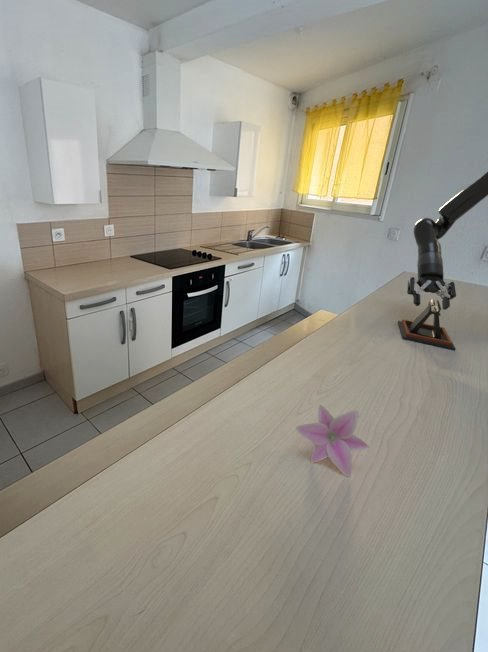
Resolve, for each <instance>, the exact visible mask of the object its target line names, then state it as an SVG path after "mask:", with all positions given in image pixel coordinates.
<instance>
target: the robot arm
mask: <svg viewBox="0 0 488 652" xmlns="http://www.w3.org/2000/svg"><path fill="white" fill-rule="evenodd" d="M487 197H488V171H486V172H485V173H484V174H483V175H482V176H481V177H479V178H478V179H477V180H475V181H473V182H472V183H471V184H470V185H468V186H467V187H466V188H464V189H463V190H461V191H460V192H459V193H457V194H456V195H455V196H453V197H452V198H451V199H449V201H447V202H446V203H445V204H444V205H443V206H441V207H440V208H439V210H438V211H437V213H438V215H439V218H438V219H437V220H436V221H435V220H434V219H432V218H430V217H424V218H423V217H422V218H421V219H419V220H418V221H416V223H415V224H414V226H413V237H414V240H415V244H416V246H417V264H416V267H417V278H415V277H414V276H411V277H410V278H409V279H408V280H407V288H406V289H407V292H406V293H407V295H410V296H412V297H413V304H414V306H416V307H419V306H421V293H422V292H424V293H431V294H436V295H437V296H438V297H440V298H441V299H442V300H441V305H442V307H441V308H442V310H448V308H450V306H451V302H450V301H452V300H453V299H454V298H456V297H457V293H456V286H455V282H454V281H450V282H445V280H444V277H445V276H444V261H443V257H442V245H441V243H440V241H439V240H440V239H443V237H444V236H445V235H446V234H447V233H448V232H449V230H450V229H451V228H452V227H453V225H454V224H455V223H456V222H457V221H458V220H459V219H460V218H461V217H463V216H464V215H466V214H467V213H468V212H469V211H470V210H472V209H473V208H474V207H476V205H478V204H479V203H480V202H482V201H483V200H484V199H485V198H487ZM416 284H417V286H418V287H419V288H418V289H416V290H415V285H416Z"/></svg>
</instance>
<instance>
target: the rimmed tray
mask: <svg viewBox="0 0 488 652" xmlns="http://www.w3.org/2000/svg"><path fill="white" fill-rule="evenodd" d="M413 322H414V321H413V320H408V319H402V320H398V321H397V324H398V328H399V332H400V335H401V339H402V340H407V341H410V342H415V343H419V344H423V345H429V346H433V347H438V348H442V349H446V350H451V351H456V346H455V345H454V343H453V341H452V339H451V338H450V335H449V334H448V332H447V330H446V328H445V327H444V326H443V327H442V326H440V334H441V340H440V339H435V338H430V337H426V336H421V335H417V334H413V333H410V325H411V324H412V323H413ZM421 328H422V329H426V330H430V331H433V325H432V324H428V323H424V324H423V325H422V326H421Z"/></svg>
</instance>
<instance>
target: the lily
mask: <svg viewBox="0 0 488 652" xmlns="http://www.w3.org/2000/svg"><path fill="white" fill-rule="evenodd" d="M358 419H359V410H356V409H354V410H350V411H348V412H344V413H343V414H341V415H338V416H336V417H334V416H333V415H332V414H331V413H330V411H329V410H328V409H327V408H326V407H325V406H324V405H322V404H319V405H318V409H317V421H318V422H313V423H312V422H311V423H305V424H301V425H297V426H296V427H295V431H297V433H299V434H300V436H302V437H303V438H304V439H306V440H307V441H309V442H310V443H312V444H314V446H313V449H312V452H311V455H310V462H311V461H312V462H314V463H319V462H320V461H323V460H325V459H328V458H329V459H330V461H331V462H332V463H333V464H334V465H335V467H336V468H337V469H338V470H339V471H340V472H341V473H342V474H343V475H344V476H345V477H347V478H351V476H352V469H353V467H352V466H353V461H352V460H353V458H352V452H355V451H357V452H358V451H364V450H368V449H370V446H369V444H368V443H366V442H365V441H364V440H362V439H361V438H359V437H358V436H357V435H356V434H354V433H355V431H356V428H357V424H358ZM312 462H311V463H312Z"/></svg>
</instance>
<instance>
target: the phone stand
mask: <svg viewBox="0 0 488 652" xmlns="http://www.w3.org/2000/svg"><path fill="white" fill-rule="evenodd" d="M441 311H442V307H441V304H440V301H439V300H438V299H436V302H435V299H430V300H429V301H428V304H427V306H426V307H425V309H424V310H423V311H422V312H421V313H420V314H419V315H418V316H417V317H416V318H415V319H414V321H413V323H412V324H411V325H410V333H413V334H417V335H421V336H426V337H430V338H435V339H440V340H441V334H440V327H441V325H440V323H441V322H440V312H441ZM432 315H433V322H432V324H433V331H430V330H426V329H422V328H421V326H422V325H423V324H425V322H427V320H428V319H429V317H430V316H432Z"/></svg>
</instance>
